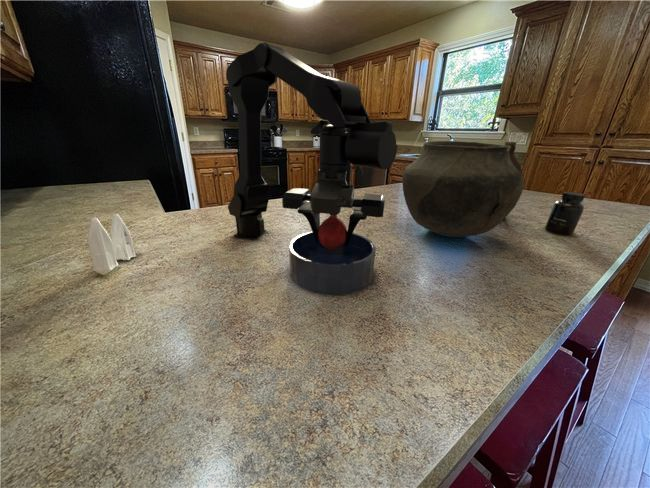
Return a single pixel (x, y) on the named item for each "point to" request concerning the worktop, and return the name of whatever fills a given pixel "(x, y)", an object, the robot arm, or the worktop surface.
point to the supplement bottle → (565, 214)
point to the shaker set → (109, 244)
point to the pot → (461, 187)
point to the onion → (332, 233)
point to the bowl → (331, 264)
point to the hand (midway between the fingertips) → (332, 243)
